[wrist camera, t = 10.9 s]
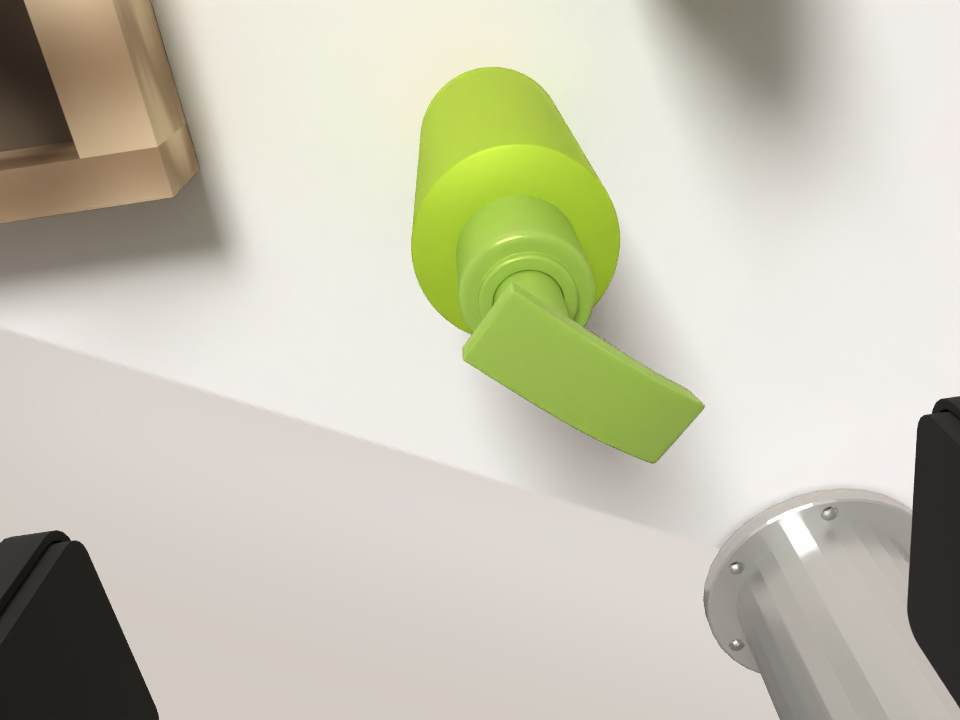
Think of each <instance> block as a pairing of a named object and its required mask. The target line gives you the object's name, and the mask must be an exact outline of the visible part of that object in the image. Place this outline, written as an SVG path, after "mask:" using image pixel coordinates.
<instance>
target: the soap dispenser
mask: <svg viewBox="0 0 960 720" xmlns="http://www.w3.org/2000/svg"><path fill="white" fill-rule="evenodd" d="M619 249H620V231H619V223H618V219H617V215H616V211H615V208H614V206H613V203H612V201H611V199H610V197H609V195H608V193H607V191H606V190H605V188H604V186H603V185H602V183H601V181H600V180H599V178H598V176H597V175H596V173H595V171H594V170H593V168H592V166H591V164H590V163H589V161H588V159H587V158H586V156H585V154H584V153H583V151H582V149H581V148H580V146H579V144H578V143H577V141H576V139H575V138H574V136H573V134H572V133H571V131H570V129H569V128H568V126H567V124H566V123H565V121H564V119H563V118H562V116H561V114H560V113H559V111H558V109H557V108H556V106H555V104H554V103H553V101H552V99H551V98H550V96H549V95H548V94H547V92H546V91H545V90H544V89H543V88H542V87H541V86H540V85H539V84H538V83H536V82H535V81H534V80H532V79H531V78H529V77H528V76H526V75H524V74H522V73H520V72H517V71H514V70H511V69H506V68H500V67H485V68H479V69H474V70H471V71H468V72H466V73H463V74H461V75H459V76H457V77H456V78H454V79H453V80H451V81H450V82H448V83H447V84H446V85H445V86H444V87H443V88H442V89H441V90H440V91H439V92H438V93H437V94H436V96H435V97H434V98H433V100H432V101H431V103H430V105H429V107H428V109H427V111H426V113H425V116H424V119H423V123H422V127H421V136H420V147H419V159H418V170H417V182H416V193H415V205H414V216H413V228H412V240H411V252H412V261H413V266H414V270H415V274H416V277H417V280H418V282H419V285H420V287H421V289H422V291H423V292H424V294H425V296H426V297H427V299H428V300H429V302H430V303H431V304H432V306H433V307H434V308H435V309H436V310H437V311H438V312H439V313H440V314H441V315H442V316H443V317H444V318H445V319H446V320H448V321H449V322H450V323H452V324H453V325H455V326H456V327H458V328H459V329H461V330H463V331H465V332H467V333H469V334H472V335H471V337H470V338H469V339H468V341H467V342H466V344H465V345H464V346H463V348H462V351H463V360H464V361H466V362H467V363H469V364H470V365H472V366H473V367H475V368H477V369H478V370H480V371H481V372H483V373H485V374H486V375H488V376H489V377H491V378H493V379H494V380H496V381H497V382H499V383H501V384H502V385H504V386H505V387H507V388H509V389H510V390H512V391H513V392H515V393H517V394H518V395H520V396H521V397H523V398H525V399H526V400H528V401H530V402H531V403H533V404H535V405H536V406H538V407H539V408H541V409H543V410H544V411H546V412H548V413H550V414H551V415H553V416H555V417H556V418H558V419H560V420H562V421H563V422H565V423H567V424H569V425H570V426H572V427H574V428H576V429H578V430H580V431H581V432H583V433H585V434H587V435H589V436H591V437H593V438H595V439H597V440H599V441H601V442H603V443H605V444H607V445H609V446H612V447H614V448H616V449H618V450H620V451H623V452H625V453H627V454H630V455H632V456H634V457H637V458H639V459H642V460H644V461H647V462H650V463H655V462H657V461H658V460H659V459H660V457H661V456H662V455H663V454H664V453H665V452H666V451H667V450H668V449H669V447H670V446H671V445H672V444H673V443H674V442H675V441H676V440H677V439H678V437H679V436H680V435H681V434H682V433H683V432H684V431H685V430H686V428H687V427H688V426H689V425H690V424H691V423H692V422H693V420H694V419H695V418H696V417H697V416H698V415H699V414H700V413H701V411H702V410H703V409H704V407H705V405H704V404H703V403H702V402H701V401H700V400H699V399H698V398H697V397H695V396H694V395H693V394H692V393H691V392H690V391H689V390H688V389H686V388H684V387H683V386H681V385H679V384H677V383H675V382H673V381H671V380H669V379H667V378H666V377H664V376H662V375H660V374H658V373H656V372H655V371H653V370H651V369H649V368H648V367H646V366H644V365H643V364H641V363H639V362H638V361H636V360H634V359H633V358H631V357H629V356H628V355H626V354H625V353H623V352H621V351H620V350H618V349H617V348H615V347H613V346H612V345H610V344H609V343H607V342H605V341H604V340H602V339H601V338H599V337H598V336H596V335H595V334H593V333H591V332H590V331H588V330H587V329H585V328H584V326H585V324H586V323H587V321H588V319H589V317H590V314H591V312H592V308H593V307H594V306H595V305H596V303H597V302H598V301H599V300H600V298H601V297H602V295H603V294H604V292H605V291H606V289H607V287H608V285H609V283H610V281H611V279H612V277H613V274H614V272H615V269H616V265H617V261H618V256H619Z"/></svg>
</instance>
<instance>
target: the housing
mask: <svg viewBox="0 0 960 720" xmlns="http://www.w3.org/2000/svg"><path fill="white" fill-rule="evenodd" d="M199 169H200V168H199V165H198V161H197V158H196V155H195V151H194V148H193V144H192V141H191V137H190V134H189V131H188V127H187V124H186V120H185V117H184V113H183V110H182V107H181V103H180V100H179V96H178V93H177V90H176V86H175V83H174V79H173V76H172V72H171V69H170V66H169V62H168V59H167V55H166V52H165V48H164V45H163V42H162V38H161V35H160V31H159V28H158V25H157V21H156V18H155V14H154V11H153V7H152V4H151V1H150V0H0V223H6V222H13V221H19V220H26V219H33V218H39V217H46V216H52V215H59V214H66V213H72V212H79V211H86V210H92V209H99V208H105V207H112V206H119V205H125V204H132V203H138V202H145V201H152V200H158V199H165V198H172V197H174V196H175V195H176V194H177V193H178V192H179V191H180V190H181V189H182V188H183V187H184V186H185V184H186V183H187V182H188V181H189V180H190V179H191V178H192V177H193V176H194V175H195V174H196V173H197V172H198V171H199Z"/></svg>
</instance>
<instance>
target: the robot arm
mask: <svg viewBox="0 0 960 720" xmlns="http://www.w3.org/2000/svg"><path fill="white" fill-rule="evenodd" d="M703 600H704V607H705V613H706V617H707V620H708V622H709V625H710V628H711V630H712V633H713V635H714V637H715V639H716V640H717V642H718V644H719V645H720V647H721V648H722V649H723V650H724V651H725V652H726V653H727V654H728V655H729V656H730V657H731V658H732V659H733V660H735V661H736V662H738V663H739V664H741V665H743V666H744V667H746V668H748V669H750V670H753V671H755V672H758V673H760V674H761V676H762V678H763V680H764V683H765V685H766V687H767V690H768V692H769V695H770V696H771V699H772V701H773V704H774V706H775V709H776V711H777V714H778V716H779V718H780V720H960V396H958V397H952V398H945V399H940V400H939V401H938V402H936V404H935V406H934V408H933V411H932V414H929V415H924V416H922V417H921V418H920V420H919V422H918V428H917V442H916V459H915V476H914V494H913V511H912V510H910V509H909V508H908V507H906V506H905V505H904V504H902V503H900V502H898V501H896V500H894V499H892V498H890V497H887V496H885V495H882V494H878V493H873V492H869V491H865V490H852V489H835V490H825V491H817V492H813V493H809V494H805V495H801V496H797V497H793V498H791V499H789V500H786V501H784V502H781V503H779V504H777V505H774V506H772V507H770V508H769V509H767V510H765V511H764V512H762V513H760V514H759V515H757V516H755V517H753V518H752V519H751V520H749V521H748V522H747V523H746V524H745V525H743V526H742V527H741V528H740V529H739V530H737V531H736V532H735V533H734V534H733V535H732V536H731V538H730V539H729V540H728V541H727V542H726V543H725V544H724V546H723V547H722V548H721V549H720V551H719V553H718V555H717V556H716V558H715V559H714V561H713V563H712V565H711V567H710V570H709V573H708V576H707V579H706V581H705V588H704V599H703ZM0 720H159V716H158V712H157V709H156V706H155V704H154V702H153V700H152V697H151V695H150V693H149V691H148V688H147V686H146V684H145V681H144V679H143V677H142V675H141V672H140V670H139V668H138V665H137V663H136V661H135V659H134V656H133V654H132V652H131V649H130V647H129V645H128V643H127V640H126V638H125V636H124V634H123V631H122V629H121V627H120V624H119V622H118V620H117V618H116V615H115V613H114V611H113V609H112V606H111V604H110V602H109V600H108V597H107V595H106V593H105V590H104V588H103V586H102V584H101V581H100V579H99V577H98V574H97V572H96V570H95V568H94V565H93V563H92V561H91V559H90V556H89V554H88V552H87V550H86V548H85V547H84V545H83V544H82V543H80V542H79V541H71V540H70V538H69V537H68V536H67V535H66V534H64V533H63V532H61V531H57V530H55V531H48V532H42V533H35V534H29V535H22V536H15V537H10V538H6V539H4V540H3V541H2V542H1V543H0Z"/></svg>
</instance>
